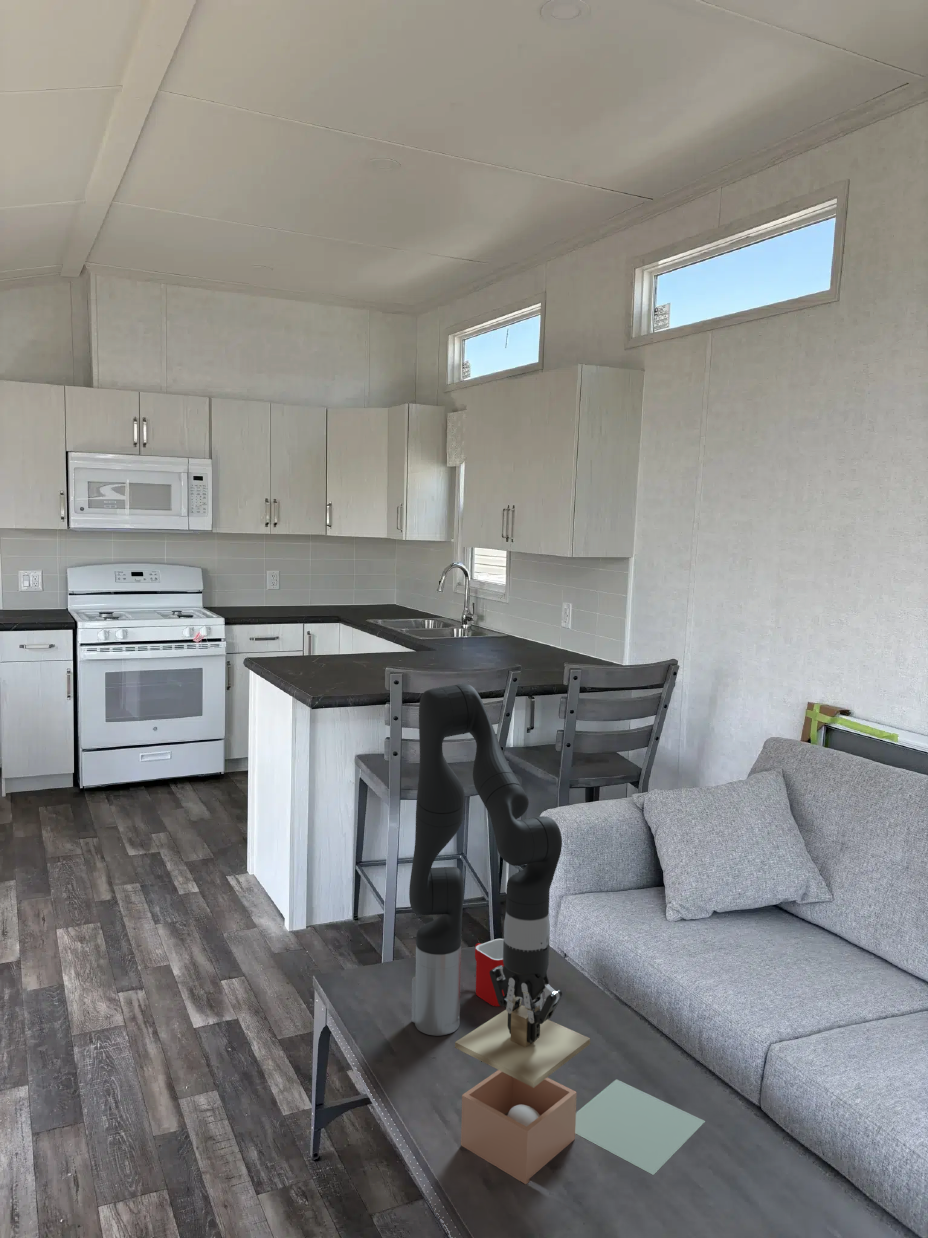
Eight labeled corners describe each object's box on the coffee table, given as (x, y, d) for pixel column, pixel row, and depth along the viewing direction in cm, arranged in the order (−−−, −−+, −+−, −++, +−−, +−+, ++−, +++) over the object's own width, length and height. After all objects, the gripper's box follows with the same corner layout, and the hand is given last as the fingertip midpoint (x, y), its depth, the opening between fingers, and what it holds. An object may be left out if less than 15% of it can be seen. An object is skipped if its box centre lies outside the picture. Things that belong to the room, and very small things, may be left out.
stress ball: (546, 1168, 156) (566, 1131, 157) (514, 1156, 152) (535, 1118, 153) (520, 1140, 162) (540, 1104, 164) (489, 1128, 158) (510, 1092, 160)
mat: (560, 1129, 161) (560, 1125, 161) (616, 1082, 175) (616, 1079, 174) (653, 1178, 149) (653, 1175, 149) (705, 1124, 163) (705, 1121, 163)
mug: (524, 997, 205) (525, 951, 203) (495, 1009, 200) (496, 961, 198) (489, 975, 214) (490, 931, 213) (461, 986, 209) (461, 940, 208)
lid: (455, 1048, 154) (455, 1013, 154) (513, 1009, 166) (514, 977, 166) (533, 1088, 144) (534, 1051, 143) (590, 1044, 156) (591, 1010, 156)
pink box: (461, 1145, 156) (462, 1095, 155) (511, 1107, 167) (512, 1060, 166) (526, 1184, 147) (527, 1131, 146) (574, 1142, 158) (576, 1092, 157)
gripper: (478, 932, 155) (476, 1030, 157) (548, 959, 146) (545, 1063, 148) (506, 917, 160) (503, 1013, 162) (575, 943, 151) (571, 1043, 153)
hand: (523, 1036), depth 155 cm, fingers closed on lid, 3 cm apart
